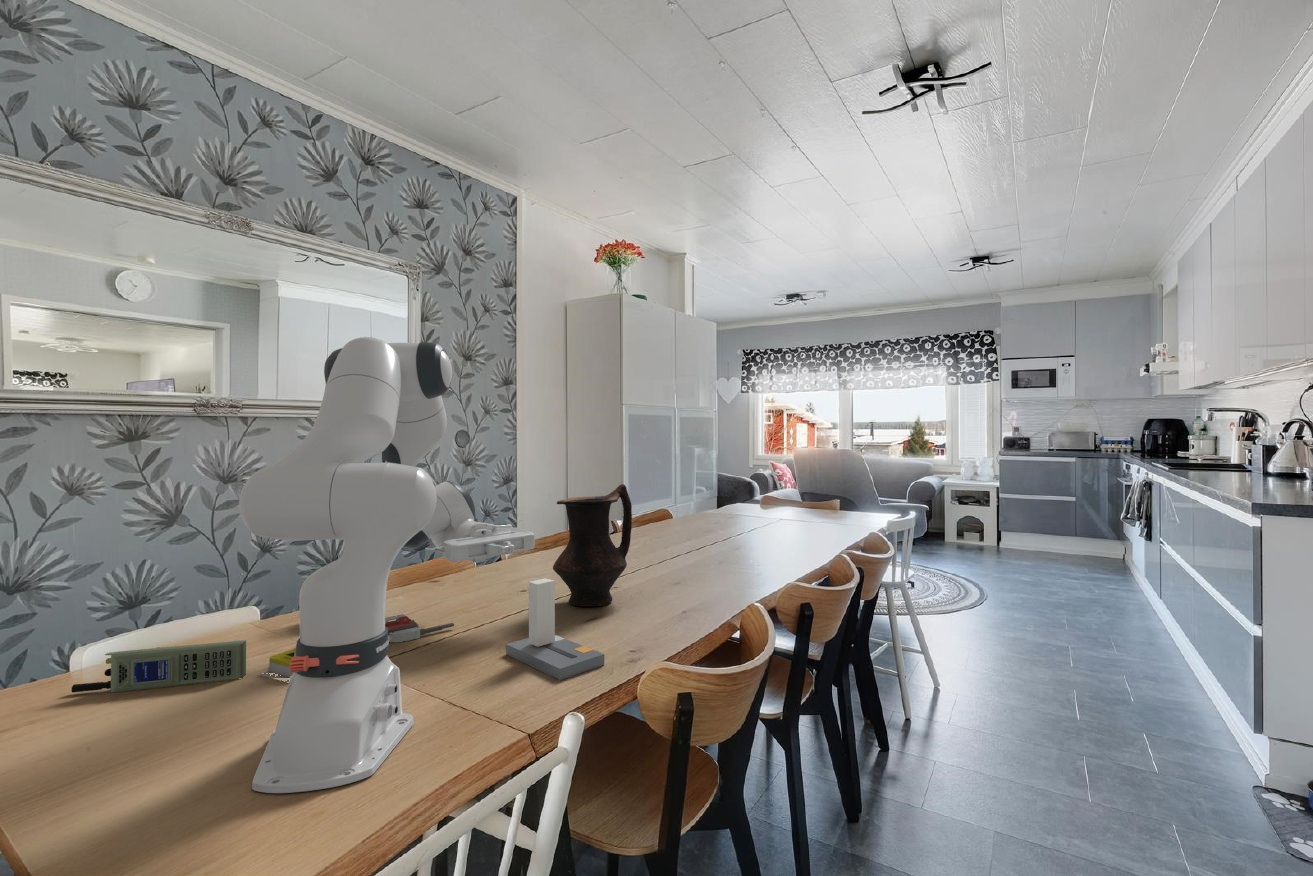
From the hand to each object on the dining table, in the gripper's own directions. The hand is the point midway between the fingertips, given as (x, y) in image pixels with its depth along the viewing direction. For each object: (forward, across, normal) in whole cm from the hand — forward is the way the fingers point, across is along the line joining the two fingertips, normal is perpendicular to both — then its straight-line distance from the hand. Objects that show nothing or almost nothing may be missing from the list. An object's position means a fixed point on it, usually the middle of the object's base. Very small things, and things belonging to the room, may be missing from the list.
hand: (508, 550), depth 128 cm
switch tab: (+12, 0, +16) cm, 21 cm away
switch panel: (+16, 0, +19) cm, 25 cm away
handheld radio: (-23, -55, +19) cm, 62 cm away
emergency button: (-14, -34, +19) cm, 41 cm away
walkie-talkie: (-19, -15, +19) cm, 31 cm away
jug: (-9, +30, +19) cm, 37 cm away
